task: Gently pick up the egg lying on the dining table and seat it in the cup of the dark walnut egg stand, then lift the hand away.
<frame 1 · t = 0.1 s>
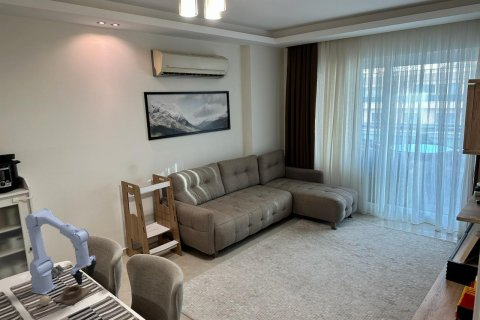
hand: (85, 279, 158), 10 cm above the table, tool pointing down, fingers open, 7 cm apart
egg carton: (52, 276, 182), on the table
egg stand: (73, 296, 162), on the table
egg: (44, 300, 155), point 2 cm above the table
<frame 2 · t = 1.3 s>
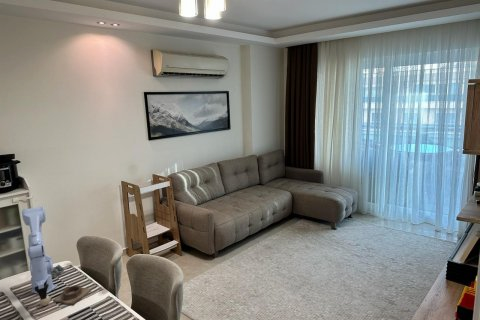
hand: (43, 294, 155), 6 cm above the table, tool pointing down, fingers open, 7 cm apart
nothing on the table moved.
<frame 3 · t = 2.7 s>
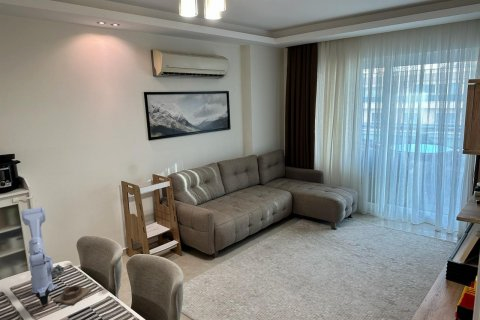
hand: (45, 301, 155), 2 cm above the table, tool pointing down, fingers closed on egg, 5 cm apart
egg: (44, 300, 155), point 2 cm above the table, touching gripper
everything else where it was.
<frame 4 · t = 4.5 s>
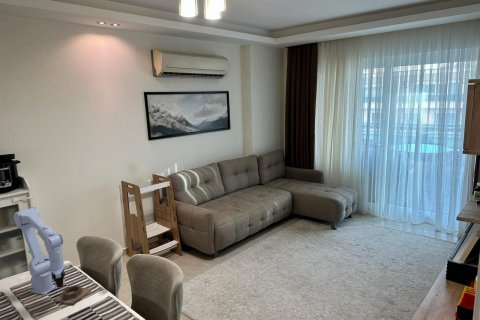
hand: (60, 284, 158), 8 cm above the table, tool pointing down, fingers closed on egg, 5 cm apart
egg: (60, 283, 158), point 9 cm above the table, touching gripper
everything else where it was.
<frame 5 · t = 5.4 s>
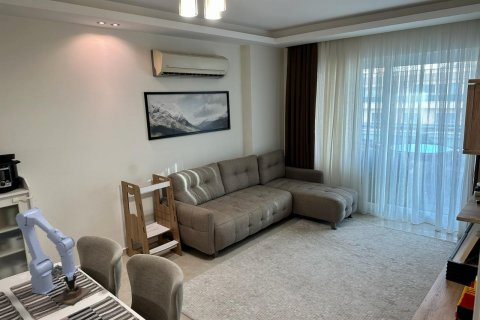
hand: (71, 286, 161), 5 cm above the table, tool pointing down, fingers closed on egg, 5 cm apart
egg: (71, 285, 161), point 6 cm above the table, touching gripper
when the fingers open (5 cm above the table, at t = 6.2 s): egg drops 3 cm, resting on egg stand.
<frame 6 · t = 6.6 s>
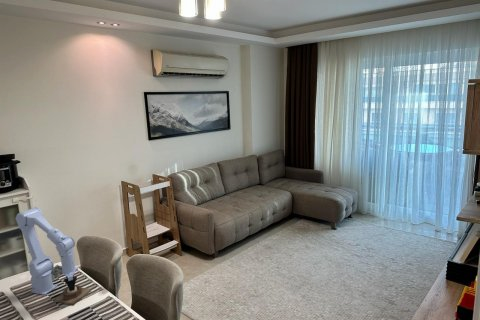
hand: (71, 286, 161), 5 cm above the table, tool pointing down, fingers open, 7 cm apart
egg: (72, 290, 161), point 3 cm above the table, tilted 9°, touching egg stand
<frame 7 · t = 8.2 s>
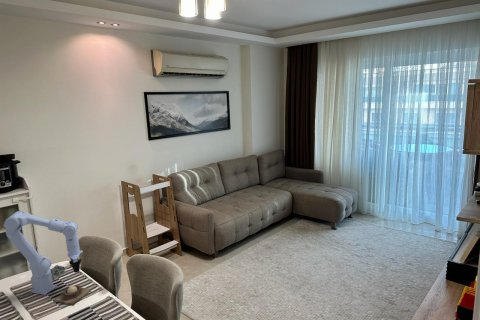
hand: (76, 268, 170), 9 cm above the table, tool pointing down, fingers open, 7 cm apart
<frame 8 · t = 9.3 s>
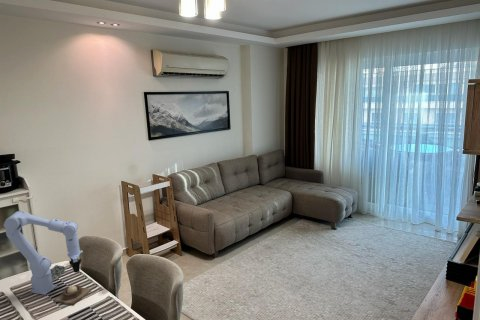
hand: (76, 268, 170), 9 cm above the table, tool pointing down, fingers open, 7 cm apart
egg: (72, 290, 161), point 3 cm above the table, tilted 6°, touching egg stand
at the end: egg 0.1 cm off-centre on the egg stand, point 3.3 cm above the egg stand's base; the gripper is holding nothing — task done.
